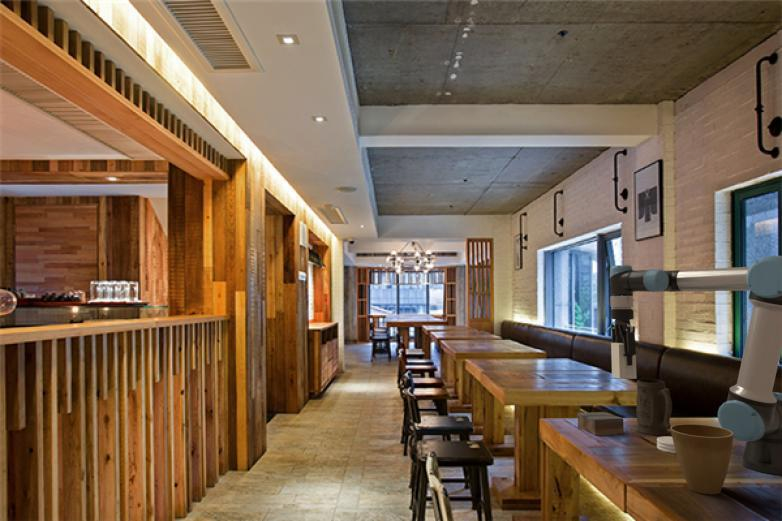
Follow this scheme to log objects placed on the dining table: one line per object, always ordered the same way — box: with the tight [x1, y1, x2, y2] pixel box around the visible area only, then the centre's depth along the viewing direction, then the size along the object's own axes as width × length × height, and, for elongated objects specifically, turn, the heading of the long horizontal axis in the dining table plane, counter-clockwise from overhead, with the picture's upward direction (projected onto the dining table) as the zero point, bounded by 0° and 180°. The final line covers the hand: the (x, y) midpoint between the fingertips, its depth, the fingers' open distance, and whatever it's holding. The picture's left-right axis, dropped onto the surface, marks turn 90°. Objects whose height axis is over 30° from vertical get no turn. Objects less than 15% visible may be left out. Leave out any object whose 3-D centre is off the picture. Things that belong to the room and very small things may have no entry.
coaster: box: [656, 435, 676, 454], centre depth 183 cm, size 10×10×4 cm
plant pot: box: [669, 423, 734, 495], centre depth 146 cm, size 15×15×16 cm
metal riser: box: [577, 411, 625, 437], centre depth 208 cm, size 12×12×6 cm
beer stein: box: [635, 378, 673, 436], centre depth 205 cm, size 15×11×20 cm
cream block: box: [610, 342, 638, 380], centre depth 191 cm, size 6×6×12 cm
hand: (624, 373), depth 191 cm, fingers closed on cream block, 6 cm apart
